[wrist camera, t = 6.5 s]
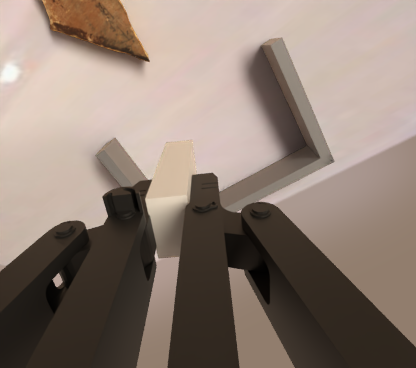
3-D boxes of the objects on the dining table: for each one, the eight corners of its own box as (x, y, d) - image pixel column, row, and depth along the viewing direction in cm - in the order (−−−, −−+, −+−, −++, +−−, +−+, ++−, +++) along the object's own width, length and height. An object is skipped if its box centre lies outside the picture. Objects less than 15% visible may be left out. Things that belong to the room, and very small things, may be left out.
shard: (152, 61, 30) (149, 61, 29) (92, 91, 32) (86, 93, 30) (96, -55, 26) (89, -63, 25) (30, -16, 27) (18, -20, 26)
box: (107, 142, 35) (95, 155, 31) (271, 38, 30) (282, 37, 26) (173, 225, 40) (169, 245, 36) (319, 148, 36) (334, 161, 32)
